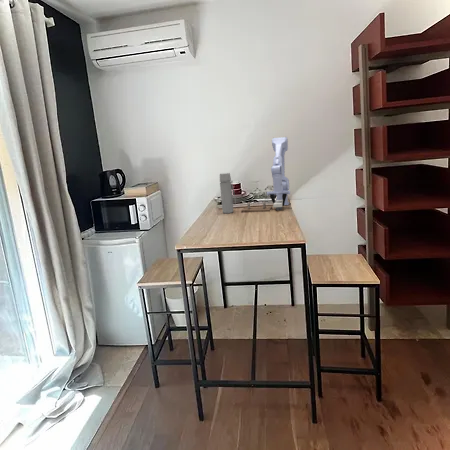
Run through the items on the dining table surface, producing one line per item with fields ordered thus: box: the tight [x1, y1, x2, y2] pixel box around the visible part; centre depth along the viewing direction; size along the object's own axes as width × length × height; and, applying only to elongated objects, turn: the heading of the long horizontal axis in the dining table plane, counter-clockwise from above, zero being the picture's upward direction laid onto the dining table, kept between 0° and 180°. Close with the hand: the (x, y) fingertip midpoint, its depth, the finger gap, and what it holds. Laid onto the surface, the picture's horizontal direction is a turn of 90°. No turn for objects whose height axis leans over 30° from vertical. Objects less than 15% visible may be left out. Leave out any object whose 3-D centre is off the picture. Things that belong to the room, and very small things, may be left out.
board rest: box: [275, 206, 284, 211], centre depth 241 cm, size 8×3×2 cm, turn 164°
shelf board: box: [272, 199, 284, 208], centre depth 241 cm, size 14×5×2 cm, turn 164°
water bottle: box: [219, 172, 237, 214], centre depth 242 cm, size 9×8×25 cm
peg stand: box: [240, 201, 273, 213], centre depth 243 cm, size 10×18×5 cm, turn 74°
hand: (279, 206), depth 241 cm, fingers closed on shelf board, 5 cm apart
